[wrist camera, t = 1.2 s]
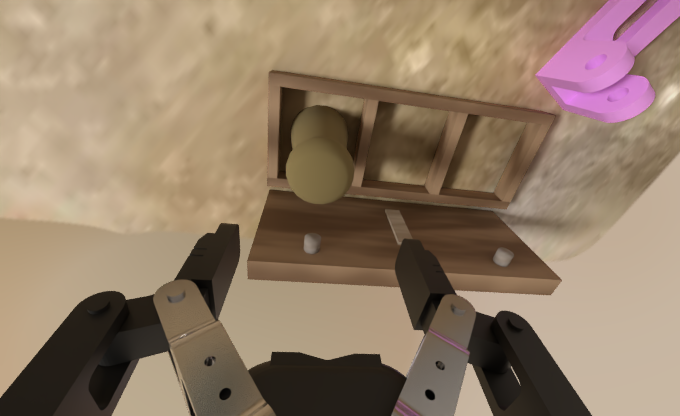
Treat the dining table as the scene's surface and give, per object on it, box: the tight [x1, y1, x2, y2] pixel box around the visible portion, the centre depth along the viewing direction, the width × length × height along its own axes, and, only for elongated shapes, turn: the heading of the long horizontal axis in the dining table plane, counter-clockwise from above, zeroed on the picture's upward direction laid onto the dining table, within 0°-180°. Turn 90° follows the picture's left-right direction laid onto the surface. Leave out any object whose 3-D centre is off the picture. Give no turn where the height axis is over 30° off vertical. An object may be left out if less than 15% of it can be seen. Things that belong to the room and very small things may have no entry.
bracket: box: [535, 0, 680, 123], centre depth 23 cm, size 13×6×7 cm, turn 143°
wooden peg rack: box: [247, 70, 562, 295], centre depth 26 cm, size 14×28×12 cm, turn 82°
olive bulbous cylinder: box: [286, 105, 355, 204], centre depth 24 cm, size 6×6×11 cm
